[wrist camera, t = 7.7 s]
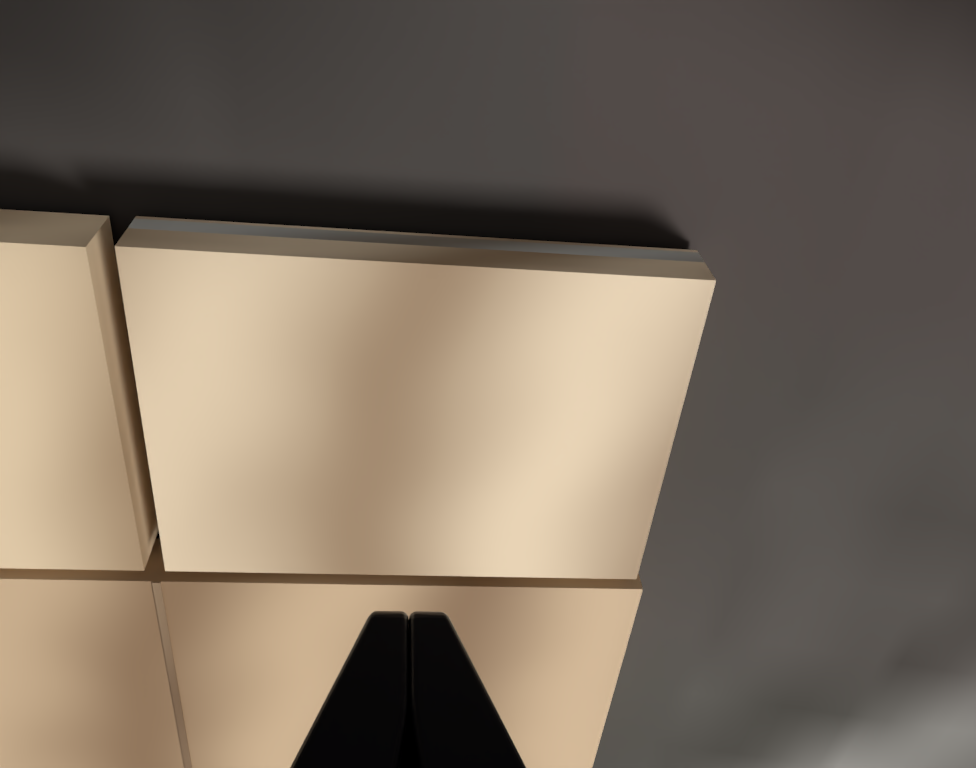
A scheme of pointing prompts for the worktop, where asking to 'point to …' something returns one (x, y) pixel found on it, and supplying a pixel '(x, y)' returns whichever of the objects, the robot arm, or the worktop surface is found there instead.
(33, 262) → the plank
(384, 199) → the worktop surface
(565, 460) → the plank
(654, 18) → the worktop surface
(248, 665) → the floor strip
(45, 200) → the worktop surface
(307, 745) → the robot arm
